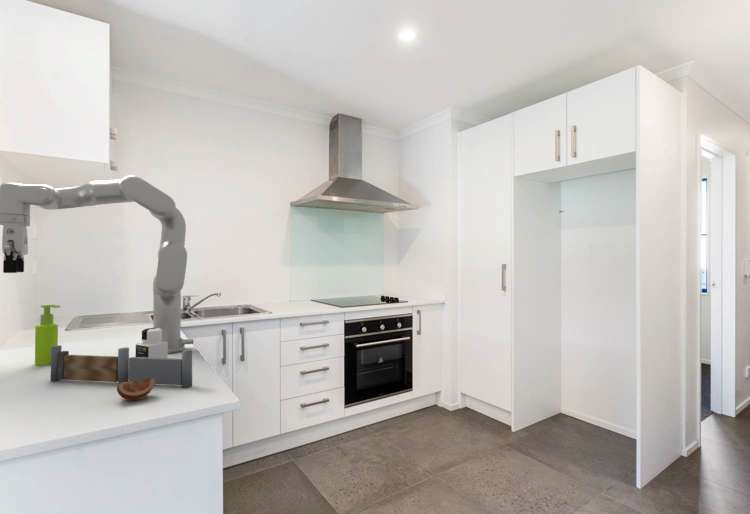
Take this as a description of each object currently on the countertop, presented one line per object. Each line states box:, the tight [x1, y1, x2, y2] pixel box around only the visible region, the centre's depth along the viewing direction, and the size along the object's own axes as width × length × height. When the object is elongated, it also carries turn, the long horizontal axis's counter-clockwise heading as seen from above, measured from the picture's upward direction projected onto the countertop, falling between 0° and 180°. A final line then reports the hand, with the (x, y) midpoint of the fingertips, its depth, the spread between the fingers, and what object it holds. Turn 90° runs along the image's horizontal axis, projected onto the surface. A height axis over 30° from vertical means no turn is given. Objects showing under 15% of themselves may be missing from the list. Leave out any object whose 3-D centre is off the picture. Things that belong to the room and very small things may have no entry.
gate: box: [58, 350, 118, 383], centre depth 112 cm, size 18×2×8 cm, turn 83°
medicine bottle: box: [135, 327, 169, 358], centre depth 133 cm, size 7×7×12 cm
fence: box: [49, 344, 193, 389], centre depth 111 cm, size 44×3×10 cm, turn 83°
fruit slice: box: [116, 378, 156, 401], centre depth 98 cm, size 8×7×5 cm
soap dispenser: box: [34, 304, 61, 367], centre depth 133 cm, size 6×7×20 cm
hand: (13, 272), depth 128 cm, fingers open, 9 cm apart
